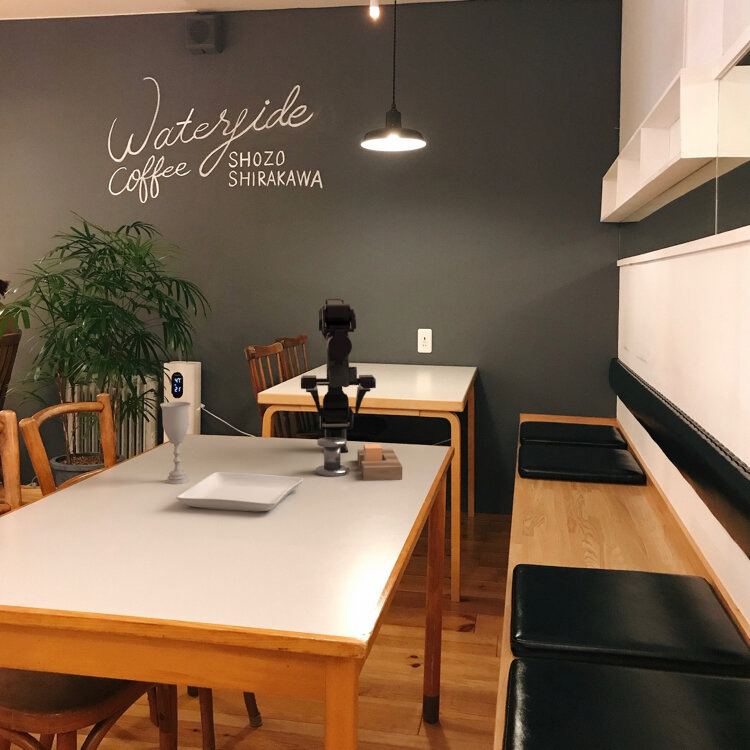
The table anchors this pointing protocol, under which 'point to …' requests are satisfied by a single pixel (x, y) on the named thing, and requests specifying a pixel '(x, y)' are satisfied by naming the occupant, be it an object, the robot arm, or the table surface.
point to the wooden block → (372, 452)
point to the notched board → (380, 466)
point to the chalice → (176, 434)
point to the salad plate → (239, 491)
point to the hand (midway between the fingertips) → (338, 415)
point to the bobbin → (332, 457)
